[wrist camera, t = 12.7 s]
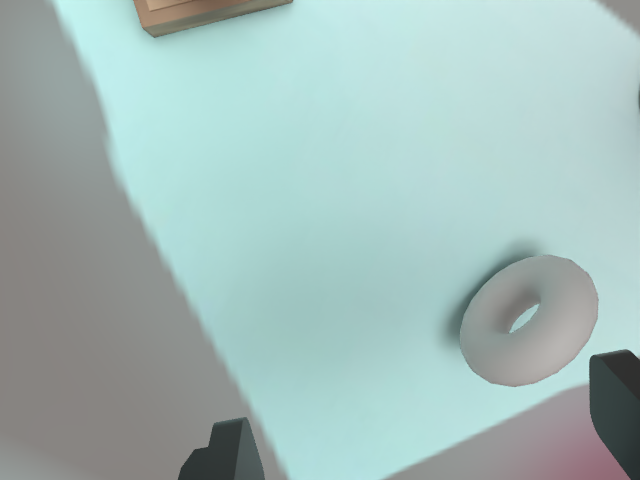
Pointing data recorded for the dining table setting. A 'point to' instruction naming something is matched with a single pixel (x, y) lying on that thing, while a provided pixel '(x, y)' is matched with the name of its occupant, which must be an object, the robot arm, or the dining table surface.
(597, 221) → the dining table surface
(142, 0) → the base
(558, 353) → the donut
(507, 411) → the dining table surface
